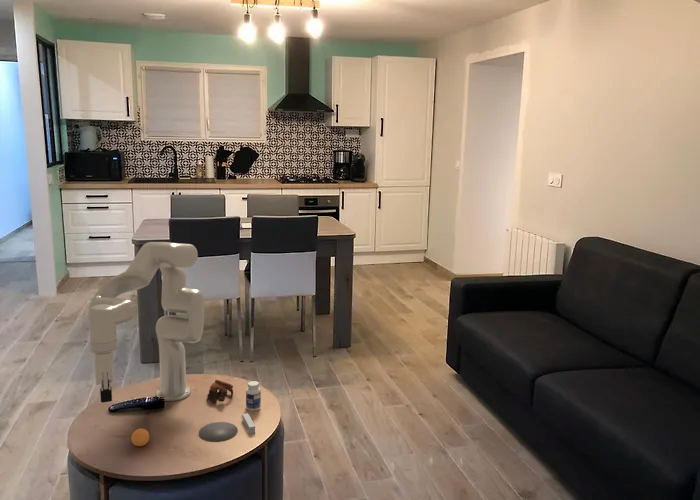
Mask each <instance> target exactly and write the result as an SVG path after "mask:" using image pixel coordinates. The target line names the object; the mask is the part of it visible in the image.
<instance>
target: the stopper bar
mask: <svg viewBox="0 0 700 500" xmlns="http://www.w3.org/2000/svg"><path fill="white" fill-rule="evenodd" d="M242 422H243V423H242V424H243V425H244V426H245V428H246V430H247V432H248V435H252V434H256V425H255V424H254V421H253V420H252V418H251V416H250V413H248V412H247V413H242Z"/></svg>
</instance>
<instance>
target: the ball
mask: <svg viewBox="0 0 700 500" xmlns="http://www.w3.org/2000/svg"><path fill="white" fill-rule="evenodd" d="M130 440H131V443H132V444H133V445H134V446H136V447H143V446H145V445H146V444H148V442H149V440H150V433H149V431H148V430H146V429H145V428H143V427H142V428H137V429H135V430H134V431H133V432H132V434H131V439H130Z"/></svg>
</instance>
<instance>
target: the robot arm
mask: <svg viewBox="0 0 700 500" xmlns="http://www.w3.org/2000/svg"><path fill="white" fill-rule="evenodd" d="M198 256H199V255H198V250H197V248H196V247H195V245H193V244H190V243H179V242H167V241H150V242H149V241H148V242H146V243H144V244H143V245H142V246H141V247H140V249H139V250H138V252H137V254H136V255H135V256H134V258H133V260H132V261H131V263H130V264H129V266H128V267H127V269H126V270H125V271H124V272H121V273H119V274H117V275H116V276H114V277H112V278H110V279H109V280H107V281H105V282H104V283H103V284H102V285H101V286H100V287H99V288H98V290H97V291H96V293H95V294H94V296H93V297H92V299H91V301H90V303H89V308H88V328H89V329H88V330H89V347H90V353H92V354H94V355H93V360H94V379H95V385H96V386H98V385H100V388H99V389H100V393H99V395H100V403H102V404H103V403H109V402H113V394H112V393H113V392H112V391H113V390H112V386H111V384H112V383H113V381H114V352H116V351H117V350H118V340H117V336H118V335H117V326H119V325H125V324H128V323H129V322H132V320H134V319H135V318H136V316H137V313H138V306H137V304H136V302H134V301H133V300H131V299H126V298H120V297H119V296H121V295H122V294H123V295H124V294H125V293H130V292H133V291H137V290H141V289H144V288H146V287H147V286H149V285H150V284H151V281H152V280H153V278H154V276H155V275H156V273H157V271H158V270H160V272H161V279H162V280H161V307H162V309H163V310H164V311H166V312H170V313H176V314H177V313H178V314H186V315H187V316H181V315H173V314H171V315H170V314H168V315H163V316H161V317H159V318H158V320H157V321H156V324H155V333H156V338H157V342H158V350H159V351H158V352H159V354H158V355H159V382H160V383H159V384H160V386H159V387H160V388H159V389H157V390H156V392H155V393H156V398H157V397H164V399H165V400H164V401H165V402H175V401H180V400H183V399H185V398H187V397H188V396H190V395H191V387H189V386H187V375H186V374H187V373H186V372H187V371H186V370H187V369H186V368H187V367H186V366H187V365H186V348H185V345H184V344H183V343H189V344H195V343H198V342H200V341H201V340H202V337H203V333H204V324H205V322H204V321H205V305H206V303H205V295H204V294H203V292H202V291H201V290H199V289H197V288H188V287H187V286H186V284H187V283H186V282H187V281H186V279H187V278H186V277H187V275H186V272H185V268H186V269H187V268H191V267H193V266H194V265H196V263H197V261H198ZM118 297H119V298H118Z"/></svg>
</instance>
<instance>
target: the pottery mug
mask: <svg viewBox="0 0 700 500" xmlns="http://www.w3.org/2000/svg"><path fill="white" fill-rule="evenodd" d="M233 388H234V385H233V384H231V383H228V382H225V381H223V380H220V379H219V380H218V379H215V381H214V382H213V383H212V384H211V385H210V386H209V389H208V393H207V395H206V400H207V401H208V402H210V403H212V404H216V405H217V403H218V402H220V403H222V402H224V401H225V400H226V396H227V395H228V391H229V393H230V397H233V396H234V389H233Z"/></svg>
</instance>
